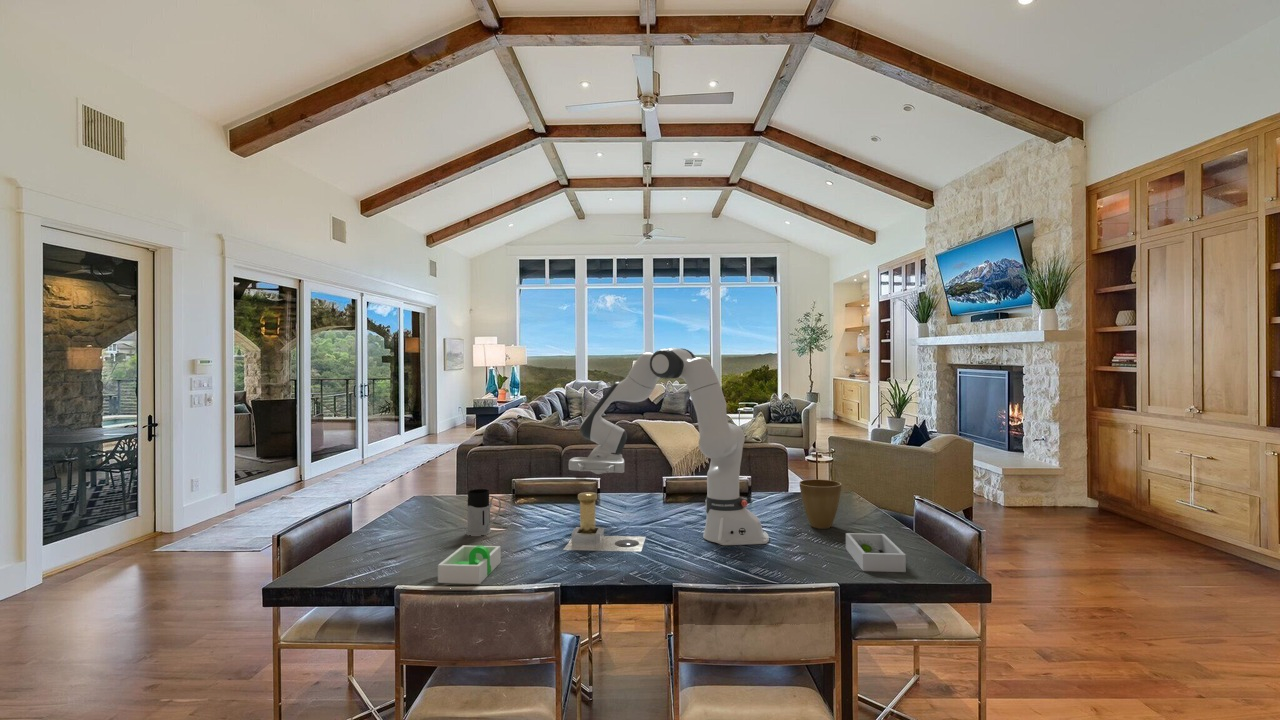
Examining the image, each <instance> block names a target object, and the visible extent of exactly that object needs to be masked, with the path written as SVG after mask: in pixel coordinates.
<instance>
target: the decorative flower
mask: <svg viewBox="0 0 1280 720" xmlns="http://www.w3.org/2000/svg"><path fill="white" fill-rule="evenodd" d="M858 540H859V541H858ZM858 540H856V542H858V545H859V546H860V547H861V548H862V549H863V551H864V552H865V553H881V552H880V550H879V548H876V547H877V546H876V545H873V544H874V543H873V542H871V543H870V541H869V540H867V542H866V540H865V539H863V541H862V540H861V539H858ZM859 543H860V544H859ZM875 549H876V550H875Z"/></svg>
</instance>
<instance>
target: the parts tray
mask: <svg viewBox="0 0 1280 720" xmlns="http://www.w3.org/2000/svg"><path fill="white" fill-rule="evenodd" d="M476 546H477V545H464V544H463V545H461V546H460V547H459V548H458V549H456V550H455V551H454V552H452V553H451V554H450V555H448V556H447V557H446V558H445V559H444V560H442V561H441V562H439V564H437V584H462V585H464V584H465V585H473V584H474V585H480V584H481V583H482V582H483V581H484V580H485V579H486V578H487V577H488V576H489V575H487V559H483V556H482V554H480V553H476V558H477V559H478V560H480V561H481V560H482V561H481V562H480V563H479V564H478V565H464V564H455V563H457V562H461V561H469V554H470V552H471V551H472V550H473V549H474V548H475V547H476ZM483 546H484V547H486V548H487V549H488V550H489V553H490V565H491V572H490V574H491V573H493V571H495V569H496V568H498V566H499V565H500V564H501V562H502V561H501V558H502V556H501V554H502V552H501V550H502V549H501V545H483Z"/></svg>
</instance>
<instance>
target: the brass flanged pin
mask: <svg viewBox="0 0 1280 720" xmlns="http://www.w3.org/2000/svg"><path fill="white" fill-rule="evenodd" d="M577 500H578V501H579V513H580V514H579V520H580V521H579V525H580V526H579V527H580V533H595V527H596V500H598V493H597V492H593V491H592V492H591V491H586V492H580V493H577Z"/></svg>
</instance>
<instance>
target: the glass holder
mask: <svg viewBox="0 0 1280 720" xmlns="http://www.w3.org/2000/svg"><path fill="white" fill-rule="evenodd" d="M494 499H497V500H498V512H497V514H496V516H495V517H494V519H493V520H492V521H491V507H492V506H493V504H492V502H493V500H494ZM466 504H467V507H466V509H467V513H466V514H467V530H466V535H467V536H469V535H471V536H470V537H482V536H481V535H484V536H487V534H488V535H490V534H491V533H492V530H491V525H492V523H494V522H495V521H496V520H497V518H499V515H500V513H501V508H502V507H501V506H502V502H501V498H499V497H498V496H496V495H495V496H492V497H491V498H490V490H489V489H486V488H476V489H471V490H468V491H467V502H466ZM490 532H491V533H490ZM489 533H490V534H489Z"/></svg>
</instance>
